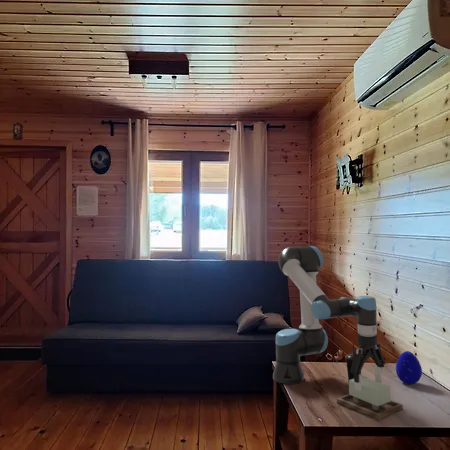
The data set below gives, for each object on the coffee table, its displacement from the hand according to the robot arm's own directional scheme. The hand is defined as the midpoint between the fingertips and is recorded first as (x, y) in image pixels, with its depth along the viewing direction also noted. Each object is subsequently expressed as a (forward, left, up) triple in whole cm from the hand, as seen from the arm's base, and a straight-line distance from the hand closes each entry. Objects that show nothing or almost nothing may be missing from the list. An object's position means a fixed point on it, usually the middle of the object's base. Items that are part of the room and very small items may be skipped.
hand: (368, 386), depth 168 cm
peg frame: (0, 0, -8) cm, 8 cm away
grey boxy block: (0, 0, -5) cm, 5 cm away
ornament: (-4, +36, -8) cm, 37 cm away
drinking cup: (-17, +13, -8) cm, 23 cm away
